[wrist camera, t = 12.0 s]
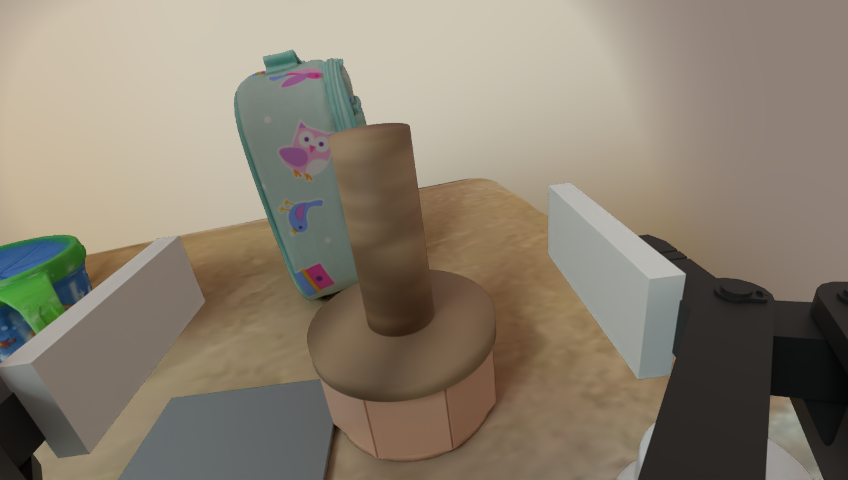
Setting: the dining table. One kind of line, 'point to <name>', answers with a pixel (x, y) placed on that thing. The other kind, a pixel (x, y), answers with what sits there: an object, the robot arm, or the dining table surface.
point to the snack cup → (38, 286)
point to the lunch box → (301, 163)
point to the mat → (239, 436)
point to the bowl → (416, 418)
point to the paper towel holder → (394, 284)
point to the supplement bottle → (781, 467)
